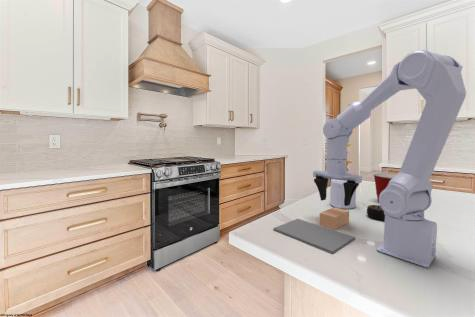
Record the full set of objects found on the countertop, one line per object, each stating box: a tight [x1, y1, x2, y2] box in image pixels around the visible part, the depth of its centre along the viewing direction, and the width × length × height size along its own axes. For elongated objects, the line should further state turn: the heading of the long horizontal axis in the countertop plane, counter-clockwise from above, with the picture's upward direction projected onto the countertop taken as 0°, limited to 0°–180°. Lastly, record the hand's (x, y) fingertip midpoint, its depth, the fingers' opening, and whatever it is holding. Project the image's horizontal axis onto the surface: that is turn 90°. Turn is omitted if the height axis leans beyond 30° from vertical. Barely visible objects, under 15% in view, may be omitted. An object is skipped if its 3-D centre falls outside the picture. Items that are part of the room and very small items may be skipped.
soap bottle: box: [329, 143, 357, 210], centre depth 88 cm, size 9×9×25 cm
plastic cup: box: [372, 172, 397, 203], centre depth 92 cm, size 11×11×12 cm
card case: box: [318, 206, 350, 231], centre depth 70 cm, size 5×9×4 cm, turn 130°
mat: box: [272, 218, 356, 255], centre depth 62 cm, size 18×12×1 cm, turn 40°
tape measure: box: [366, 204, 385, 221], centre depth 75 cm, size 7×7×4 cm
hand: (334, 202), depth 70 cm, fingers open, 7 cm apart
